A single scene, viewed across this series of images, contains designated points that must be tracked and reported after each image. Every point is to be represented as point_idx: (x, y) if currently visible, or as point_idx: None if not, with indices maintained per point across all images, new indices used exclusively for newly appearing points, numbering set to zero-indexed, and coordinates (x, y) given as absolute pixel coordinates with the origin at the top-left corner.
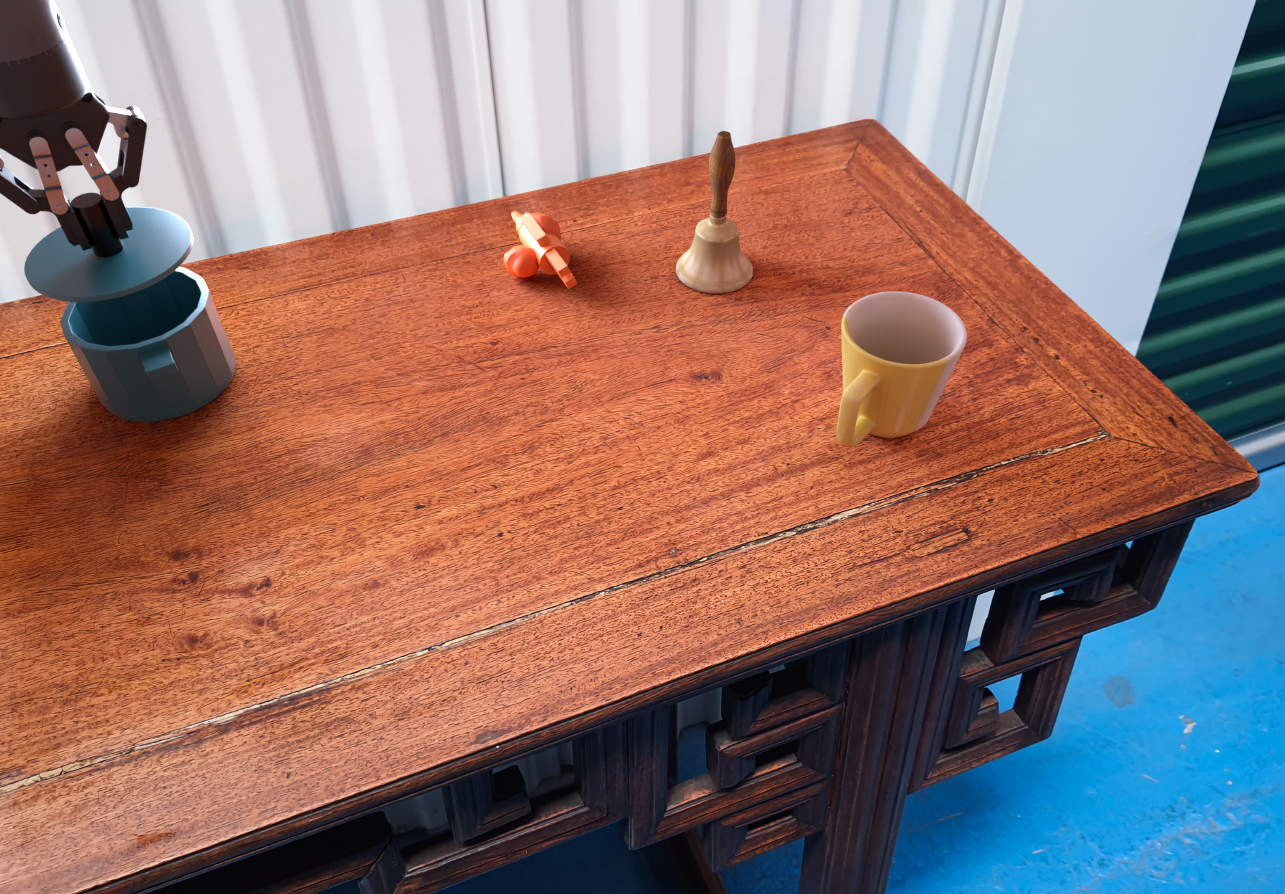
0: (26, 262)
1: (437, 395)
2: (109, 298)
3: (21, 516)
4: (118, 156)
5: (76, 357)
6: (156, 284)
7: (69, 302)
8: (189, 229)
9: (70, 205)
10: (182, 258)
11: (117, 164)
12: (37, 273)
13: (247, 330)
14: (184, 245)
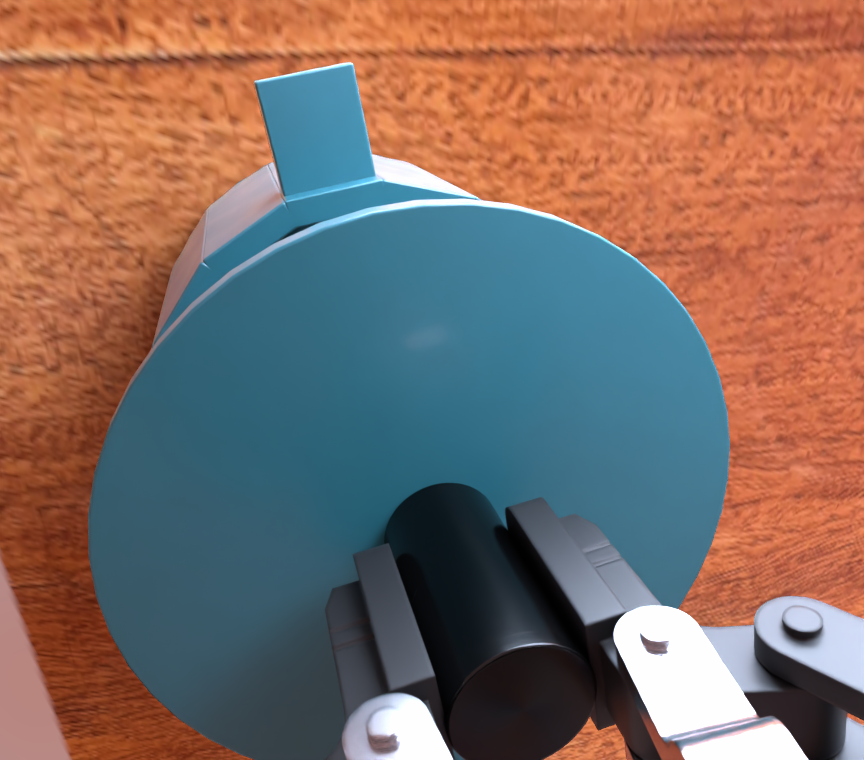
0: (96, 557)
1: (813, 506)
2: None
3: (62, 668)
4: (853, 688)
5: None
6: None
7: (158, 335)
8: (727, 465)
9: (440, 724)
10: None
11: (796, 663)
12: (167, 642)
13: (538, 188)
14: (692, 559)
